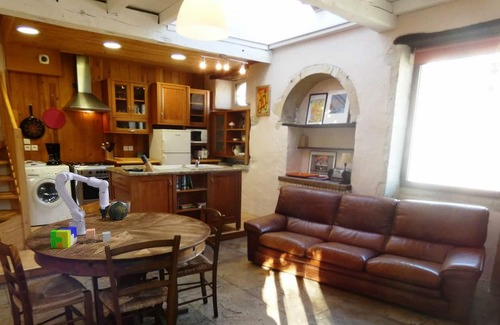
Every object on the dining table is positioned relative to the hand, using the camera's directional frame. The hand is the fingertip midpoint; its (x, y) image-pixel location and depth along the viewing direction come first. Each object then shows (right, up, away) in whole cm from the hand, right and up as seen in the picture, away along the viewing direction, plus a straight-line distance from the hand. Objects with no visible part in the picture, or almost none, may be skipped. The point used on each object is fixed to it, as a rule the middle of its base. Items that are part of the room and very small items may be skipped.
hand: (104, 216), depth 209 cm
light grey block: (+9, -12, -17) cm, 23 cm away
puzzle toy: (-12, -13, -25) cm, 31 cm away
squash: (-5, -8, +33) cm, 34 cm away
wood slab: (0, -13, -19) cm, 23 cm away
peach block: (+1, -10, -19) cm, 22 cm away
